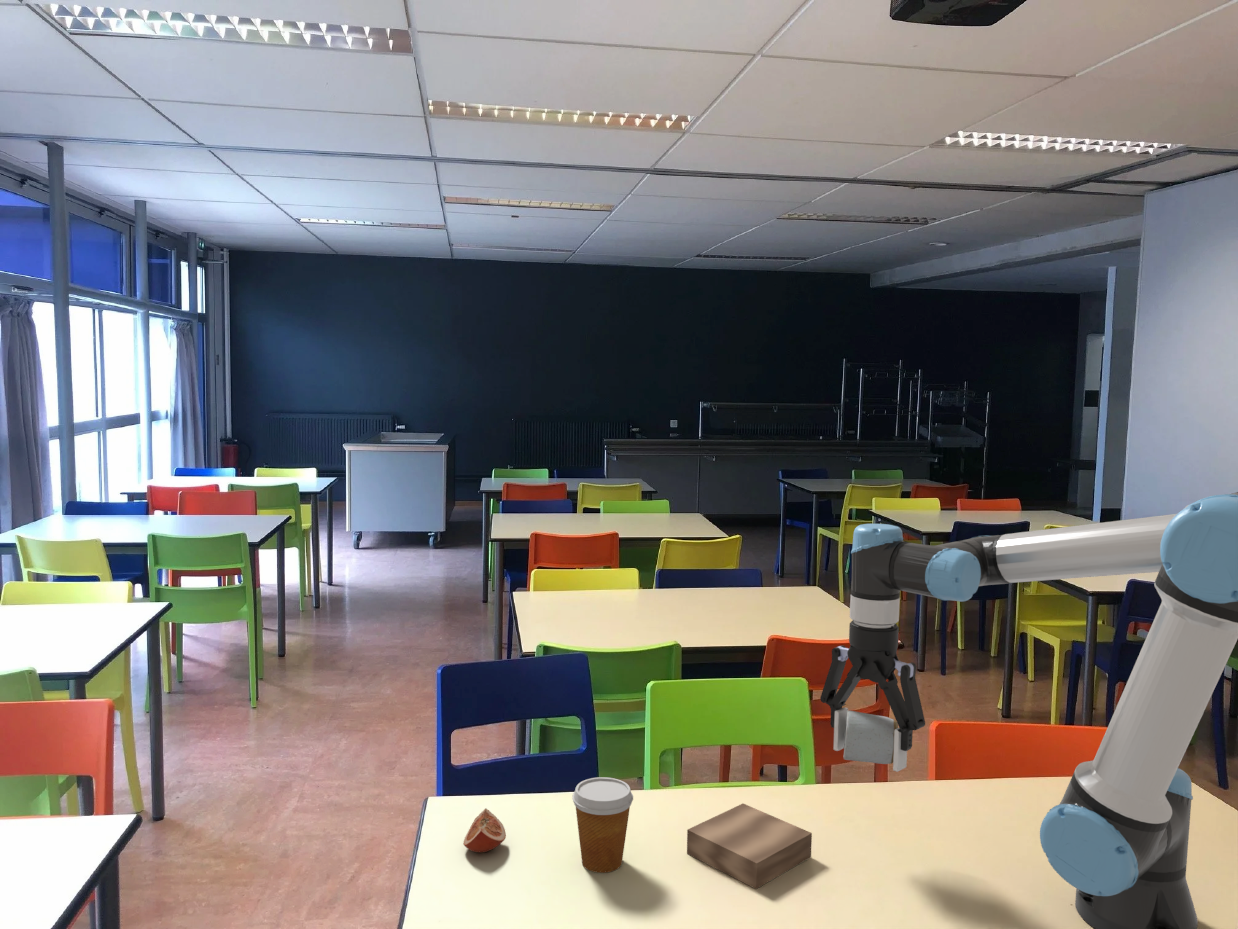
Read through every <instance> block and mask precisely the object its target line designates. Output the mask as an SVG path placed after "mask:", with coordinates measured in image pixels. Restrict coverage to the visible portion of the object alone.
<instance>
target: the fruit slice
mask: <svg viewBox="0 0 1238 929" xmlns="http://www.w3.org/2000/svg"><path fill="white" fill-rule="evenodd" d="M506 834H507V833H506V829H505V826H504V824H503V823H502V822H501V821H500V819H499V818H498V817H497V816H496V815H494V813H492V812H491V811H490V810H489V809H488V808H484V809H483V810H482V811H481V812H480V813H479V814H478V816H476V817H475V818H474V820H473V821H472V823H471V826H470V828H468V831H467V833H466V835H465V837H464V839H463V846H464V847H465V848H466V849H468V850H469V851H471V852H474V853H486V852H488V851H491V850H493V849H495V848H497V847H499V846H500V845H501V844H503V842H504V841H505V840H506V837H507V835H506Z"/></svg>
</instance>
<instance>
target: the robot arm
mask: <svg viewBox="0 0 1238 929" xmlns="http://www.w3.org/2000/svg"><path fill="white" fill-rule="evenodd" d="M852 537H853V538H852V548H851V551H850V554H851V588H850V600H849V601H850V603H849V619H850V620H851V621H850V622H849V627H848V628H849V630H848V644H850V646H849V648H848V647H846V646H845V645H843V644H842V645H839V646H836V647H833V648H832V649H831V663H830V665H829V670H828V672H827V675H826V679H825V682H824V685H823V688H822V691H821V695H820V699H819V700H820V702H821V703H823V704H824V703H825V704H826V705H827V706H829V708H830V724H829V725H830V727H831V728H833V750H834V751H836V752H838V751H841V750H844V744H845V730H846V717H847V711H848V710H849V708H848V707H843V706H846V705H847V704H846V702H847V701H848V699H849V697H850V696H851V694H852V693H853V692H854V690H855V688H856V687H857V685H858V684H859V683H860V681H861V680H869V681H871V682H872V683H876V684H878V686H879V689H880V690H882V691H883V693H884V695H885V698H886V700H887V702H888V704H889V707H890V710H891V712H892V713H893V716H894V720H895V721H896V722H897V723H898V728H897V729H895V731H894V758H893V763H892V771H893V772H897V773H898V772H899V771H902V770H904V769H906V768H907V764H908V763H907V760H908V751H910V750H911V749H912V747H913V733H914V732H913V731H917V730H919V729H921V728H924V727H925V726H926V721H925V720H926V719H925V715H924V711H923V706H922V702H921V698H920V697H921V696H920V693H919V690H918V689H919V688H918V684H917V681H916V680H917V679H916V674H917V665H916V663H915V662H910V663H907V662H903V661H901V660H899V657H898V655H897V653H898V652H897V651H898V648H899V628H900V627H899V626H898V624H897V623H898V622H899V620H900V601H901V596H900V595H901V591H902V592H907V593H912V594H916V595H922V596H926V597H931V598H935V599H939V600H941V601H954V602H955V601H956V602H967V601H969V600H970V599H972V597H973V595H974V594H976V593H977V592H978V589H979V587H983V586H991V585H992V586H994V585H1005V584H1013V583H1024V582H1025V583H1026V582H1041V581H1052V580H1053V581H1056V580H1067V579H1068V580H1069V579H1082V578H1092V577H1093V578H1094V577H1095V578H1096V577H1107V576H1108V577H1109V576H1121V575H1123V576H1124V575H1136V574H1137V575H1138V574H1150V573H1151V574H1152V573H1158V574H1157V576H1156V579H1155V580H1154V583H1153V584H1154V588H1155V589H1156V592H1157V594H1158V595H1159V597H1160V599H1161V603H1160V605H1159V607H1158V610H1157V612H1156V614H1155V616H1154V619H1153V622H1152V624H1151V626H1150V628H1149V631H1148V633H1147V636H1146V638H1145V640H1144V643H1143V645H1142V647H1141V649H1140V652H1139V655H1138V656H1137V659H1136V660H1135V663H1134V665H1133V668H1132V670H1131V673H1130V675H1129V677H1128V679H1127V681H1126V683H1125V684H1126V685H1125V686H1124V689H1123V691H1122V693H1121V696H1120V698H1119V701H1118V702H1117V705H1116V707H1115V710H1114V712H1113V714H1112V717H1111V719H1110V722H1109V724H1108V726H1107V729H1106V730H1105V734H1104V735H1103V737H1102V740H1101V742H1100V745H1099V746H1098V749H1097V751H1096V754H1095V757H1094V759H1093V760H1090V761H1089V760H1088V761H1083V762H1080V763H1079V764H1078V765H1077V766H1076V767H1075V770H1074V772H1073V773H1072V776H1071V779H1070V780H1069V782H1068V785H1067V787H1066V789H1065V792H1064V794H1063V796H1062V799H1061V801H1060V802H1059V804H1057V805H1054V806H1053V807H1052V808H1050V809H1049V811H1048V812H1047V813H1046V815H1045V816H1044V817H1043V819H1042V820H1041V824H1040V828H1039V841H1040V846H1041V848H1042V851H1043V853H1045V857H1046V858H1047V861H1048V862H1049V864H1050V866H1051V867H1052V869H1053V870H1054V871H1055V872H1056V873H1057V875H1059V877H1061V878H1062V879H1063V880H1064V881H1065V882H1066V883H1068V884H1069V885H1071V886H1072V887H1073V888H1075V889H1076V890H1075V900H1074V901H1075V903H1074V904H1075V909H1076V911H1077V913H1078V915H1079V916H1080V917H1081V918H1082V919H1083V920H1084V921H1085V922H1086V923H1087V924H1088V925H1089V926H1090V927H1092V928H1094V929H1198V925H1199V922H1198V921H1199V920H1198V915H1197V912H1196V908H1195V906H1194V905H1195V904H1194V902H1193V898H1192V895H1191V890H1190V887H1189V885H1188V884H1189V883H1188V882H1187V876H1186V875H1187V865H1188V850H1189V839H1190V838H1189V835H1190V824H1191V822H1190V821H1191V810H1192V800H1193V799H1194V796H1193V795H1192V784H1193V783H1192V780H1191V777H1190V776H1189V775H1188V773H1186V772H1185V771H1184V770H1183V769H1181V768H1179V766H1180V764H1181V761H1182V759H1183V758H1184V756H1185V754H1186V751H1187V749H1188V747H1189V745H1190V743H1191V740H1192V738H1193V736H1194V735H1195V731H1196V730H1197V728H1198V725H1199V724H1200V721H1201V719H1202V717H1203V715H1204V712H1205V710H1206V708H1207V706H1208V704H1209V702H1210V700H1211V697H1212V696H1213V693H1214V690H1215V688H1216V686H1217V684H1218V682H1219V681H1220V678H1221V676H1222V673H1223V672H1224V669H1225V667H1226V665H1227V663H1228V660H1229V658H1230V656H1231V654H1232V652H1233V649H1234V648H1235V645H1236V643H1237V641H1238V491H1236V492H1233V493H1227V494H1226V493H1224V494H1215V495H1210V496H1206V497H1204V498H1203V497H1202V498H1201V499H1198V500H1196V501H1194V502H1192V503H1190V504H1187V505H1185V507H1184V508H1183V509H1182V510H1180V511H1179V512H1178V513H1173V514H1165V515H1157V516H1148V517H1147V516H1146V517H1139V518H1132V519H1131V518H1130V519H1123V520H1121V519H1120V520H1113V521H1105V522H1098V523H1097V522H1096V523H1090V524H1089V523H1087V524H1080V525H1072V526H1064V527H1062V526H1061V527H1056V528H1046V529H1038V530H1031V531H1030V530H1029V531H1021V532H1014V533H1013V532H1012V533H1005V534H1000V535H999V534H997V535H978V536H973V537H971V538H968V539H963V540H958V541H952V542H947V543H941V544H938V545H929V544H921V543H914V542H908V541H904V537H903V530H902V529H901V527H899V526H897V525H893V524H888V523H887V524H886V523H864V524H859V525H857V526H856V527H855V528H854V531H853V534H852ZM848 659H849V661H850V663H851V665H852V666H851V668H850V669H849V671H848V672H847V675H846V678H845V680H844V681H843V683H842V684H841V686H840V682H841V679H842V677H843V673H844V670H845V667H846V664H847V660H848ZM896 670H897V675H896V674H895V671H896ZM897 676H898V677H899V678H900V679H899V680H900V687H901V690H900V688H899V686H898V684H899V683H898V682H899V681H898V679H897ZM839 686H840V687H839ZM901 691H902V692H901Z"/></svg>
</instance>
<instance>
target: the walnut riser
mask: <svg viewBox="0 0 1238 929" xmlns="http://www.w3.org/2000/svg"><path fill="white" fill-rule="evenodd" d="M686 831H687V832H686V835H687V836H686V854H687V855H689V856H691V857H693V858H695V860H696V859H697V860H699V861H700V862H702V863H704V864H706V865H708V866H710V867H712V868H714V869H716V870H718V871H720V872H722V873H724V874H726V875H728V876H730V877H731V878H734V879H736V880H738V881H740V882H742V883H744V884H746V885H747V886H749V887H751V888H753V889H755V890H757V889H759V888H760V887H762V886H764V885H765V884H767V883H769V882H770V881H772V880H774V879H777V877H778V878H779V876H781V875H784V874H785V873H786V872H788V871H790V870H792V869H793V868H794V867H797V866H798V865H800V864H802V863H804V862H805V861H807V860H808V859H810V858H812V845H813V844H812V841H813V840H812V839H813V833H812V831H811V832H810V831H809V830H806V829H804V828H802V827H799V826H797V825H794V824H792V823H789V822H787V821H785V820H782V819H780V818H778V817H775V816H773V815H770V814H769V813H766V812H764V811H763V810H760V809H757V808H756V807H752V806H751V805H748V804H746V803H741V804H739V805H737V806H734V807H732V808H730V809H729V810H726V811H724V812H722V813H719V814H718V815H716V816H713V817H711V818H709V819H707V820H705V821H702V822H701V823H698V824H696V825H694V826H692V827H690V828H687V830H686Z"/></svg>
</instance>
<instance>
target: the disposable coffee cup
mask: <svg viewBox="0 0 1238 929" xmlns="http://www.w3.org/2000/svg"><path fill="white" fill-rule="evenodd" d="M571 798H572V802H573V803H574V806H575V813H576V821H577V829H578V831H577V832H578V837H579V838H578V839H579V840H578V841H579V847H580V857H581V864H582V866H583V867H584V868H585V869H586V870H587V871H590V872H594V873H600V874H601V873H603V874H604V873H610V872H611V873H612V872H614V871H616V870H619V869H620V868H621V866H622V864H623V859H624V858H623V857H624V852H625V842H626V836H627V830H628V829H627V828H628V823H629V816H630V807H631V805H632V803H633V801H634V794H633V792H632V791H631V787H630V785H629V784H628V783H627V782H625V781H623V780H620V779H617V778H613V777H606V776H605V777H604V776H603V777H601V776H599V777H598V776H597V777H591V778H587V779H585V780H582V781H580V782H579V783H578V784H577V785H576V787H575V790H574V792H573V793H572V797H571Z"/></svg>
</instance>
